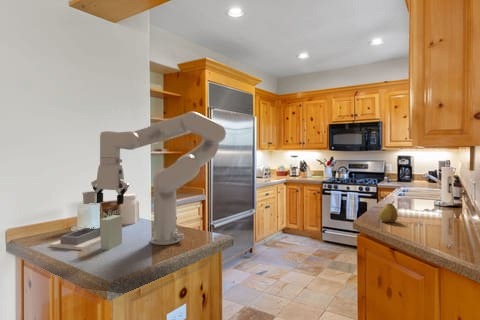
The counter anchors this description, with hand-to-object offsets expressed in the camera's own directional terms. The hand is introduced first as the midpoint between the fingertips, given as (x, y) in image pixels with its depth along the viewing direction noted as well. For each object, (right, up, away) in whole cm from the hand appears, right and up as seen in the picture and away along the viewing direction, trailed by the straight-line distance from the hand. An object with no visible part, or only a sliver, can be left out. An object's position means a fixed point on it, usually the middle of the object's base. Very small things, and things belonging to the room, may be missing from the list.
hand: (109, 203), depth 120 cm
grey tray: (-15, -18, +6) cm, 24 cm away
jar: (-8, -17, +41) cm, 45 cm away
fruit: (+136, -17, +42) cm, 143 cm away
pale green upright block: (0, -18, +1) cm, 18 cm away
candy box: (-9, -17, +21) cm, 28 cm away
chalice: (-23, -17, +29) cm, 41 cm away
